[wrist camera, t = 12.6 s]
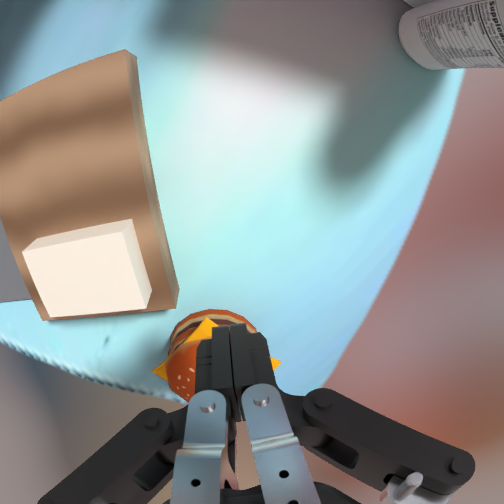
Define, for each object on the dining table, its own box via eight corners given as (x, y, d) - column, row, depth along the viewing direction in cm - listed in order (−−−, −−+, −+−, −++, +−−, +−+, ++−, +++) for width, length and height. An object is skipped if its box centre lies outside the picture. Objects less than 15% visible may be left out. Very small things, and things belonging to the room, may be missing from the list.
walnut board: (-1, 110, 17) (-20, 113, 15) (136, 56, 18) (125, 49, 15) (54, 303, 26) (42, 320, 23) (179, 288, 27) (175, 308, 24)
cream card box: (36, 238, 20) (21, 251, 18) (131, 218, 20) (122, 231, 18) (61, 300, 23) (50, 317, 20) (151, 290, 23) (146, 308, 21)
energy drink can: (452, 58, 19) (579, 61, 6) (416, 80, 20) (558, 86, 7) (422, 5, 17) (543, -25, 3) (380, 22, 18) (513, -20, 4)
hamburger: (153, 349, 30) (144, 397, 24) (206, 288, 27) (204, 336, 21) (224, 384, 33) (227, 431, 27) (281, 335, 30) (294, 383, 24)
